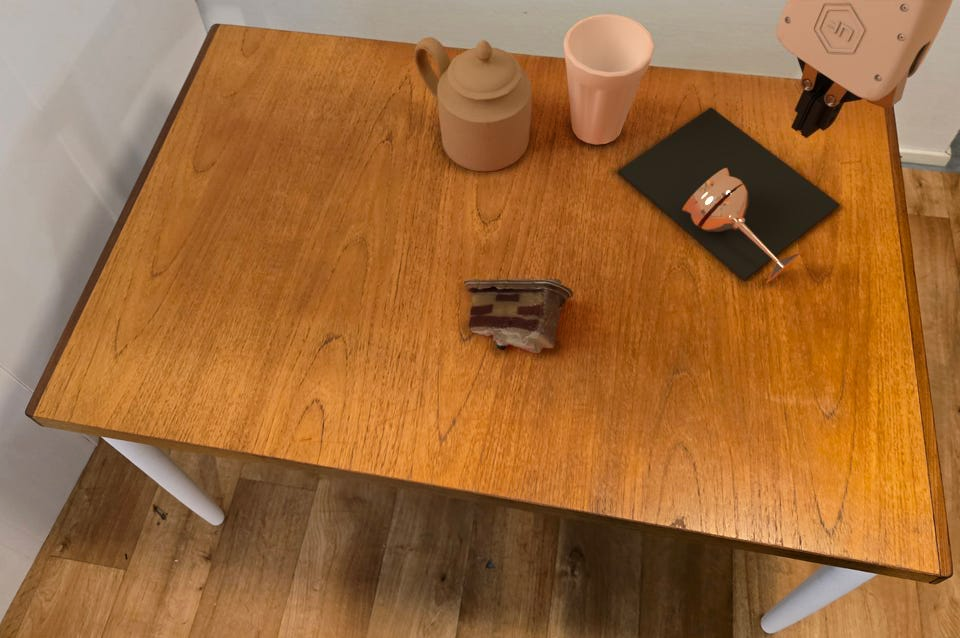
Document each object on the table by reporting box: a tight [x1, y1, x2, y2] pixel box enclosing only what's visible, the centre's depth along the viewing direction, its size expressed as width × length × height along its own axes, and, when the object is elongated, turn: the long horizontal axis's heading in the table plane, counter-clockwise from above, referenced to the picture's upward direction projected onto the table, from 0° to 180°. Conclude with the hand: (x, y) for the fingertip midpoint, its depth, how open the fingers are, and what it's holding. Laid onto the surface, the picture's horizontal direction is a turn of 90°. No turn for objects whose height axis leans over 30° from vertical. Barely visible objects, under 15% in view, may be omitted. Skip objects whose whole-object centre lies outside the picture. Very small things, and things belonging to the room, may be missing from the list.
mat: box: [617, 107, 840, 282], centre depth 88 cm, size 20×16×1 cm
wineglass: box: [682, 168, 803, 284], centre depth 81 cm, size 7×7×12 cm
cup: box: [563, 13, 656, 146], centre depth 88 cm, size 10×10×13 cm
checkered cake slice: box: [463, 278, 574, 354], centre depth 78 cm, size 10×7×12 cm
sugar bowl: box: [413, 36, 533, 173], centre depth 87 cm, size 15×11×15 cm
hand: (809, 125), depth 64 cm, fingers closed
